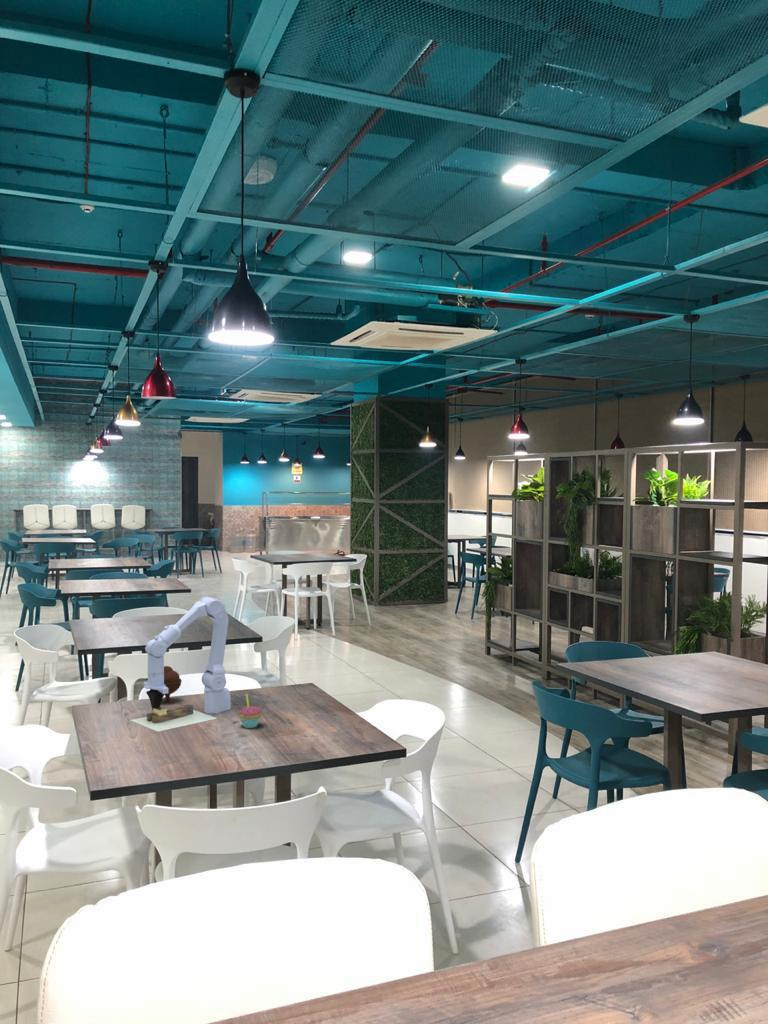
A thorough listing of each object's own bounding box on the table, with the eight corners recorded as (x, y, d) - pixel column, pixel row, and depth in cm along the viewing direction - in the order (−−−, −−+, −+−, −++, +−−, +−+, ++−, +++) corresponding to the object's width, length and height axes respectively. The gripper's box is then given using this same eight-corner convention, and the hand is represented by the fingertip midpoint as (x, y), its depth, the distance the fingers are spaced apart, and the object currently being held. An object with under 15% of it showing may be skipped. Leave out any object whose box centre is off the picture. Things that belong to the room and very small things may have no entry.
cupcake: (233, 727, 289) (233, 694, 289) (248, 721, 297) (248, 689, 296) (253, 730, 285) (253, 696, 285) (267, 724, 293) (267, 691, 292)
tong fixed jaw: (189, 711, 307) (189, 703, 306) (194, 713, 304) (194, 705, 304) (146, 720, 294) (146, 712, 294) (151, 722, 291) (151, 714, 291)
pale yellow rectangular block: (161, 712, 296) (161, 706, 296) (166, 714, 293) (166, 708, 293) (153, 713, 294) (153, 708, 294) (159, 715, 291) (159, 710, 291)
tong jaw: (184, 714, 302) (184, 708, 302) (187, 715, 301) (187, 709, 301) (151, 722, 292) (151, 715, 292) (155, 723, 290) (155, 716, 290)
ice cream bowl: (147, 707, 317) (147, 668, 317) (163, 700, 328) (163, 663, 328) (171, 709, 314) (171, 670, 314) (186, 702, 325) (186, 664, 324)
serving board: (188, 710, 312) (188, 708, 312) (217, 721, 297) (217, 718, 297) (130, 722, 295) (130, 720, 295) (157, 734, 281) (157, 731, 281)
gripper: (136, 671, 297) (136, 708, 298) (155, 677, 287) (155, 716, 287) (153, 668, 302) (153, 704, 303) (173, 674, 292) (173, 712, 292)
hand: (156, 710), depth 295 cm, fingers closed
